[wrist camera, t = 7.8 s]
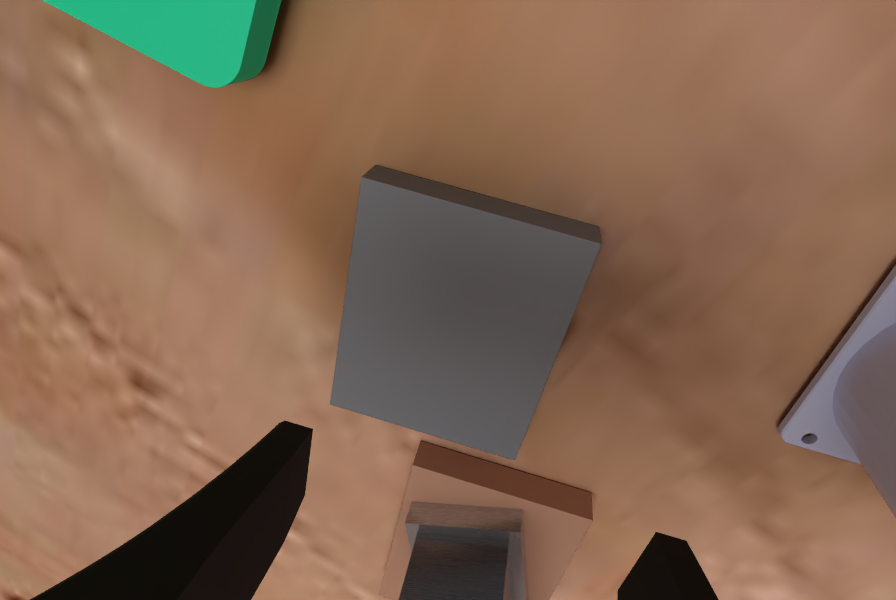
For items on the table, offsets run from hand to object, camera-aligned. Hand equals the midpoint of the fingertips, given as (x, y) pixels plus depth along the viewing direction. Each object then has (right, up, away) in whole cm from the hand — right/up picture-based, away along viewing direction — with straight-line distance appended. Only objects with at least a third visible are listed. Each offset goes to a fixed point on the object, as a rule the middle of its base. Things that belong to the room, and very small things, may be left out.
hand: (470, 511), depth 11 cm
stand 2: (+1, -7, +16) cm, 18 cm away
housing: (+1, -8, +15) cm, 16 cm away
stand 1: (0, +4, +10) cm, 11 cm away
